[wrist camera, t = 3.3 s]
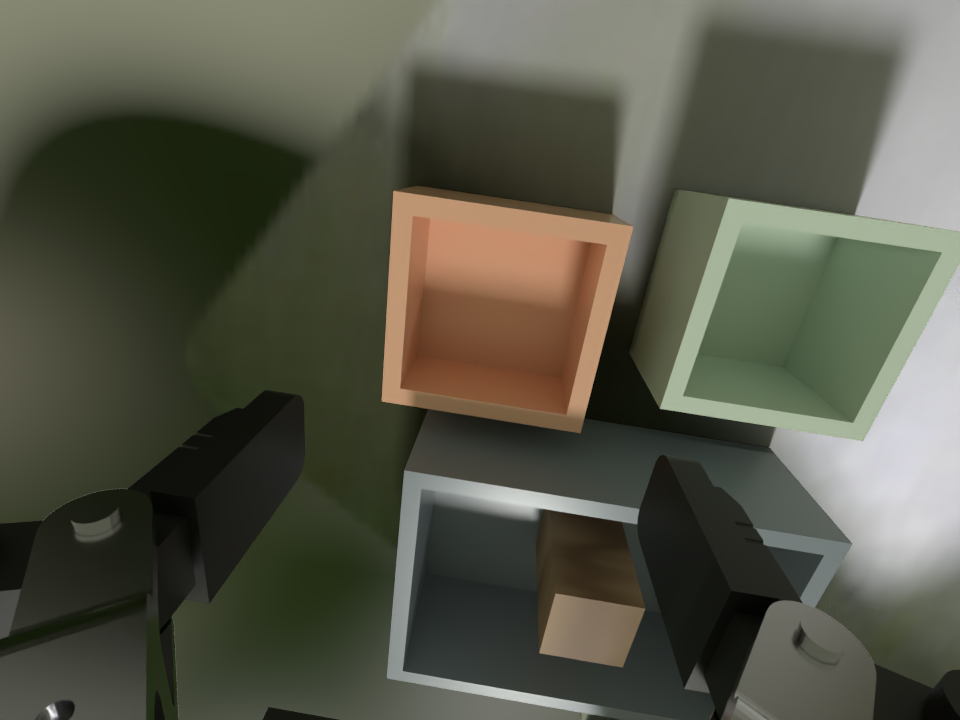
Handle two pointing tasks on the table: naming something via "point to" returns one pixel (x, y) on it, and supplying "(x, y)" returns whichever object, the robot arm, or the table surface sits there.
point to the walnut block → (586, 589)
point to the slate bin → (512, 555)
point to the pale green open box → (785, 311)
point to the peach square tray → (498, 305)
